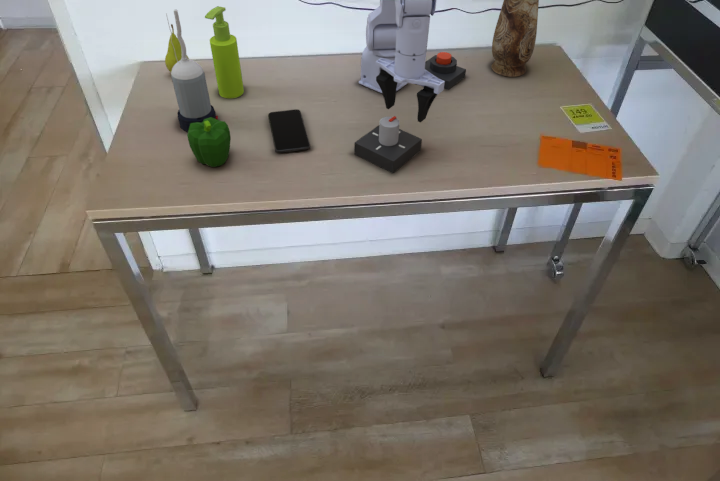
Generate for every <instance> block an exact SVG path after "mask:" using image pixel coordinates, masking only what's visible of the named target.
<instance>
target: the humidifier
mask: <svg viewBox="0 0 720 481" xmlns="http://www.w3.org/2000/svg"><path fill="white" fill-rule="evenodd" d="M165 14H166V19H167V23H168V28H169V32H170V36H171V43H172V29H171V25H170V23H169V22H170V21H169V18H168V13H165ZM173 15H174V20H175V26H176V37H177V38H178V40H179V42H180V45H181V49H182V58H181V60H180V61H178V60H177V61H178V62H177V63H176V64H175V65H174V66H173V68H172V71H171V72H170V74H171V75H170V77H171V82H172V86H173V89H174V93H175V98H176V101H177V102H176V103H177V106H178V110H177V114H176V115H177V120H178V124H179V127H180V129H181V130H183V131H184V132H186V133H188V130H189V127H190V123H196V122H201V123H202V122H203V120H204V119H207V118H209V117H212V118H214V119H217V120H219V116H218V115H217V112H216V109H215V108H214V106H213V105H212V104H211V99H210V94H209V89H208V84H207V83H208V82H207V79H206V73H205V71H204V68H203V66H202V65H201V64H200V63H198V62H197V61H196V60H194V59H190V58H189V57H188V58H189V59H188V58H187V57H186V55H187V46H186V43H185V40H184V39H183V36H182V26H181V21H180V17H179V10H178V9H173ZM172 45H173V44H172ZM173 48H174V46H173ZM174 51H175V49H174ZM175 56H176V53H175ZM176 59H177V57H176Z"/></svg>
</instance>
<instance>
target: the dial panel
mask: <svg viewBox="0 0 720 481" xmlns="http://www.w3.org/2000/svg"><path fill="white" fill-rule="evenodd" d="M379 125H380V124H378V125H377V126H375V127H374V128H373V129H371V130H370V131H368V132H367V133H366V134H364V135H363V136H362V137H361V138H359V139H357V140H356V141H354V148H353V149H354V155H355V156H357V157H359V158H361V159H363V160H365V161H367V162H369V163H370V164H373V165H375V166H377V167H379V168H381V169H382V170H385V171H387V172H389V173H392V174H394V173H395V172H397V171H398V170H399V169H400V168H402V167H403V166H404V165H405V164H407V163H408V162H409V161H410V160H411V159H413V158H414V157H415V156H416V155H417V154H418V153H420V152H421V151H422V144H423V139H422V138H421V137H419V136H417V135H415V134H413V133H409V132H407V131H405V130H403V129H402V128H399V136H398V143H397V144H396V145H393V146H385V145H382V144H381V143H380V142H379Z"/></svg>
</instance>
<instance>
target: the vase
mask: <svg viewBox="0 0 720 481" xmlns="http://www.w3.org/2000/svg"><path fill="white" fill-rule="evenodd" d="M539 1H540V0H503V2H502V5H501V8H500V12H499V15H498V18H497V22H496V24H495V28H494V31H493V37H492V42H491V44H492V45H491V56H492V58H493V60H494V61H493V62H492V64H491V70H492V71H493V72H494V73H496V74H497V75H500V76H504V77H512V78H515V77H520V76H522V75H525V74H526V73H527V66H526V64H527V63H528V62H529V61H530V60H531V58H532V56H533V53H534V50H535V46H536V41H537V34H538V17H539V5H540V4H539V3H540V2H539Z"/></svg>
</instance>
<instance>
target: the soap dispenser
mask: <svg viewBox="0 0 720 481" xmlns="http://www.w3.org/2000/svg"><path fill="white" fill-rule="evenodd" d="M226 10H227V9H226V7H223V6H219V5H218V6H215V7H214V8H211V9H210V10H209V11H208V12H207V13H206V14H205V16H204V19H208V20H212V21H213V20H215V22H213V24H212V28H213V34H214V35H213V36H211V37H210V38H209V45H210V51H211V56H212V63H213V68H214V74H215V79H216V84H217V85H216V86H217V89H218V94H219V96H220V97H221V98H224V99H236V98H239V97H241V96H243V94H244V93H245V88H244V82H243V74H242V68H241V61H240V54H239V47H238V41H237V40H238V39H237V37H236V35H234V34H231V30H230V26H229V22H228V21H226V20H225V18H224V12H226Z"/></svg>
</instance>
